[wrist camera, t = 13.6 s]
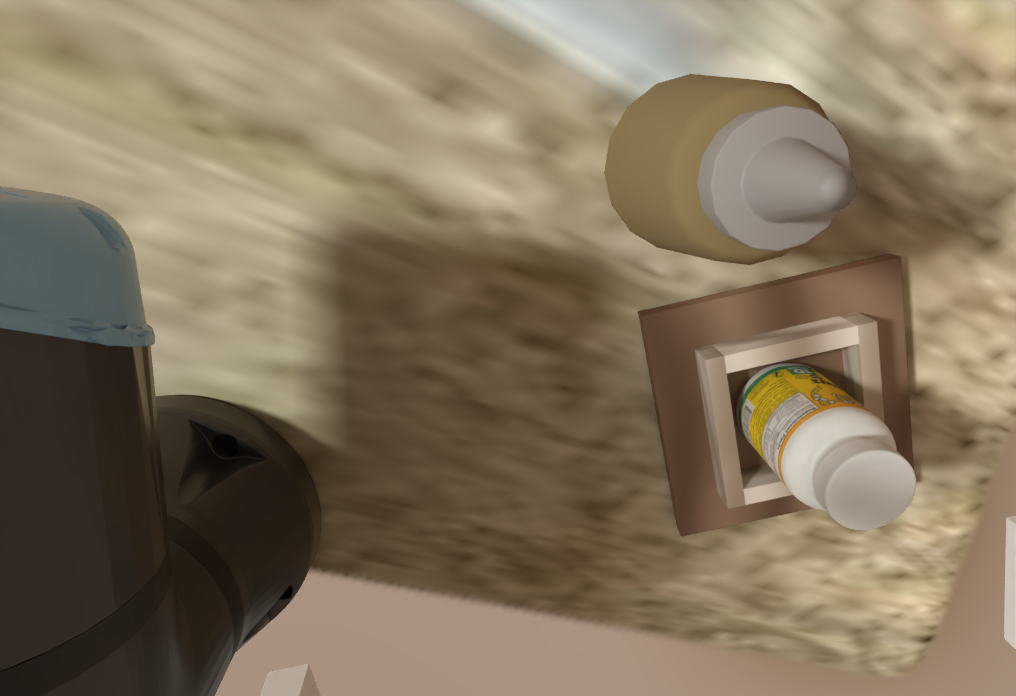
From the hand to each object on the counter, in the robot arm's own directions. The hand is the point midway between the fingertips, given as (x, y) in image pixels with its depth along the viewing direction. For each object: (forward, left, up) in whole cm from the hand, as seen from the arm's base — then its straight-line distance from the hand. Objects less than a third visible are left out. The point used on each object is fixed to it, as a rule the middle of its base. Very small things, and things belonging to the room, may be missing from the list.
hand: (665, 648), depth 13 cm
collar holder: (+12, -8, -27) cm, 30 cm away
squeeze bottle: (+8, +6, -27) cm, 28 cm away
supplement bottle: (+12, -8, -26) cm, 29 cm away
